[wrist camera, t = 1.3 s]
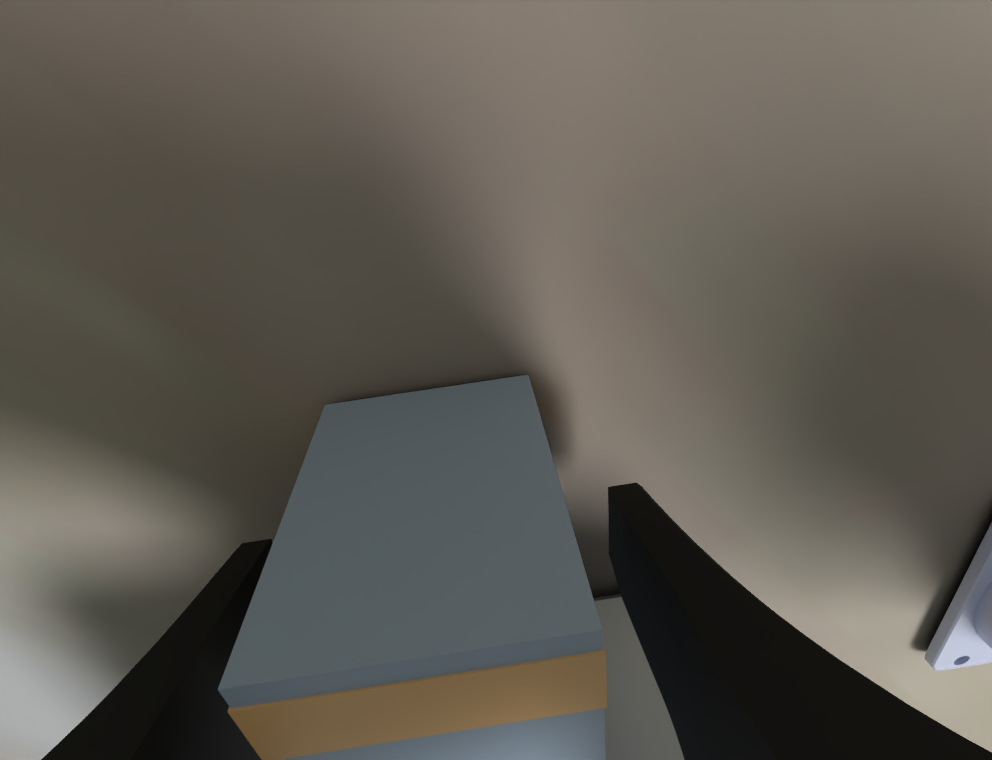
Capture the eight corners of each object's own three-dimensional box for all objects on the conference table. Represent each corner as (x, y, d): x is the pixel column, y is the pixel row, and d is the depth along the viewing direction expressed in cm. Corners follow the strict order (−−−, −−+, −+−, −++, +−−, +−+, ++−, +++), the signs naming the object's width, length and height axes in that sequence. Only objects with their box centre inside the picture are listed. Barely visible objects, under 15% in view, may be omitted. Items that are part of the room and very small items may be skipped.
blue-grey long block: (529, 373, 11) (605, 630, 6) (564, 717, 18) (612, 975, 13) (324, 404, 11) (214, 692, 6) (438, 737, 18) (435, 1004, 13)
